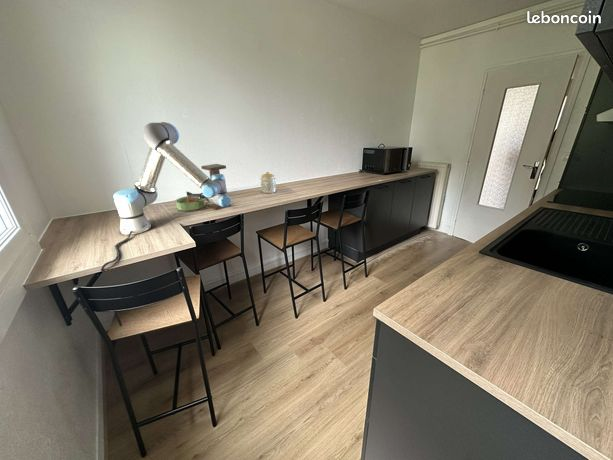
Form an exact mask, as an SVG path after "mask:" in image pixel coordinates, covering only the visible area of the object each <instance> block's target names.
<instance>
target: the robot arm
mask: <svg viewBox="0 0 613 460" xmlns="http://www.w3.org/2000/svg"><path fill="white" fill-rule="evenodd" d="M142 129H143V130H142V136H143V139H144V141H145V142H146V144H147V145H148V146H149V149H148V152H147V156H146V158H145V162H144V164H143V168H142V171H141V174H140V177H139V180H136V181H135V182H134V185H133V188H123V189H121V190H118V191H116V192H115V193H114V194H113V200H114V204H115V207H116V209H117V213H118V216H119V218H120V226H119V230H120V233H121V234H122V235H124V236H125V235H126V236H127V237H126V238H125V239H123V240H122V241H119V242H117V243H116V244H115V245H114V246H113V249H114V251H115V258H114V259H113V260H110V261H108V262H105V263H104V264H102V265H101V267H100V270H99V271H100V272H103V271H104V269H105V267H107V266H108V265H110V264H112V263H115V262H116V261H118V259H119V257H120V253H119V250H118V248H117V247H118V246H120V245H121V244H123V243H125V242H127V241H128V240H129V239H130V237H131V236H132V235H138V234H141V233H144V232H147V231H149V230H150V229H151V227H152V225H151V222H150V221H149V219H147V217H146V216H145V213H144V210H143V209H144V208H145V207H148V206H149V205H151V204H153V203H154V202H155V201H157V198H158V192H157V191H158V188H157V186H156V185H157V182H158V179H159V176H160V175H161V171H162V168H163V165H164V162H165V160H167V161H169V162H170V163H171V164H172V165H173V166H174V167H176V168H177V169H178V170H179V171H180V172H182V174H184V176H186V177H187V178H188V179H189V180H190V181H192V182H193V183H194V184H195V185H196V186H198V188H200V189H201V192H200V193H193V192H190V191H185V193H186V196H188V199H199V200H201V199H202V198H204V199H205V201H206V202H208V203H210V204H213V203H214V204H217V205H219V206H222V207H226V208H228V207H227V206H229V205H230V204H231V203H232V198H231V197H230V195H228V191H227V183H226V182H227V181H226V177H225V175H224V173H223V174H222V173H220V174H214V175H212V180H211V178H210V176H208V175H207V174H206V173H205V172H203V171H202V170H201V169H200V168H199V167H198V166H197V165H196V164H195V163H194V162H193V161H191V160H190V159H189V158H188V157H187V155H185V154H184V153H182V152H181V151H180V149H178V148H177V147H176V146H175V144H177V143H178V142H179V139H180V133H179V131H178V129H177V127H176V126H175V125H174V124H172V123H169V122H166V121H161V122H149V123H147V124H146V125H145V126H144V127H143V128H142ZM231 205H232V204H231ZM229 207H230V206H229ZM113 312H114V315H115V318H116V320H117V323H118V325H119V327H122V326H123V323H122V321H121V318H120V315H119V313H118V311H117V310H116V311H114V310H113Z"/></svg>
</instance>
